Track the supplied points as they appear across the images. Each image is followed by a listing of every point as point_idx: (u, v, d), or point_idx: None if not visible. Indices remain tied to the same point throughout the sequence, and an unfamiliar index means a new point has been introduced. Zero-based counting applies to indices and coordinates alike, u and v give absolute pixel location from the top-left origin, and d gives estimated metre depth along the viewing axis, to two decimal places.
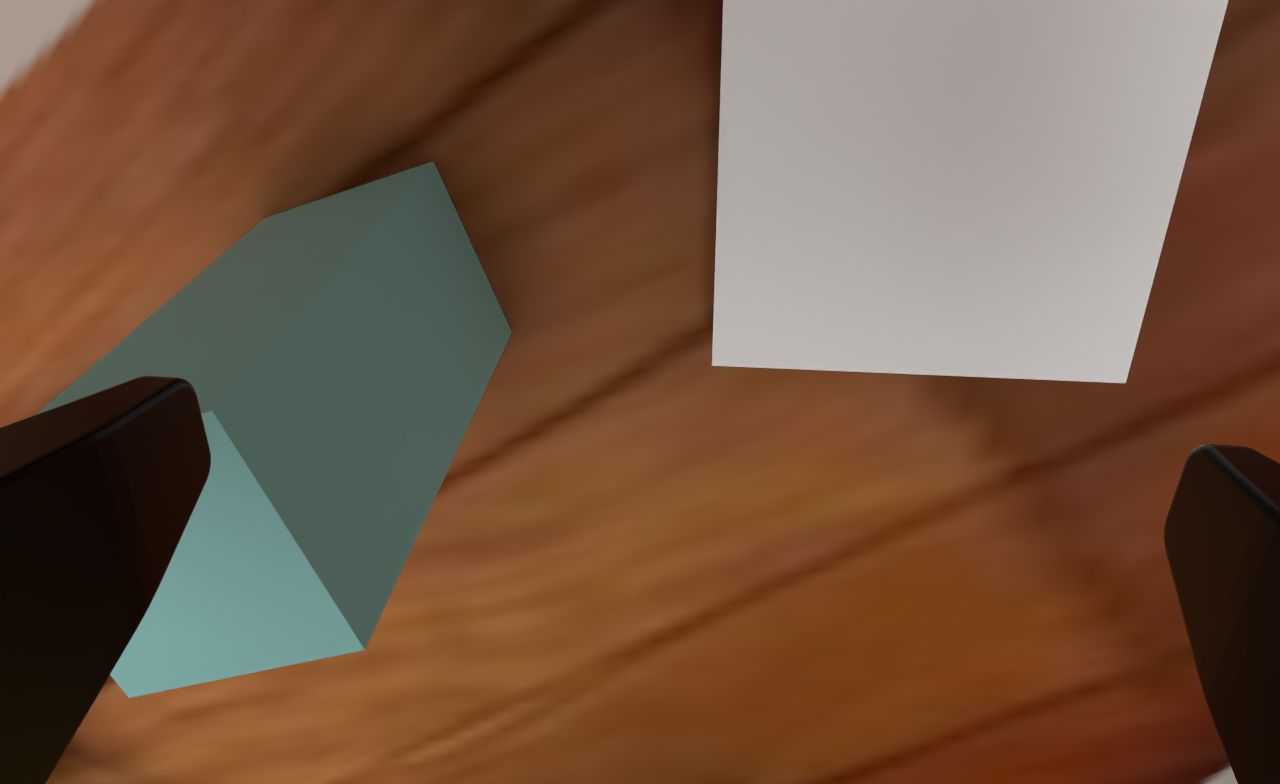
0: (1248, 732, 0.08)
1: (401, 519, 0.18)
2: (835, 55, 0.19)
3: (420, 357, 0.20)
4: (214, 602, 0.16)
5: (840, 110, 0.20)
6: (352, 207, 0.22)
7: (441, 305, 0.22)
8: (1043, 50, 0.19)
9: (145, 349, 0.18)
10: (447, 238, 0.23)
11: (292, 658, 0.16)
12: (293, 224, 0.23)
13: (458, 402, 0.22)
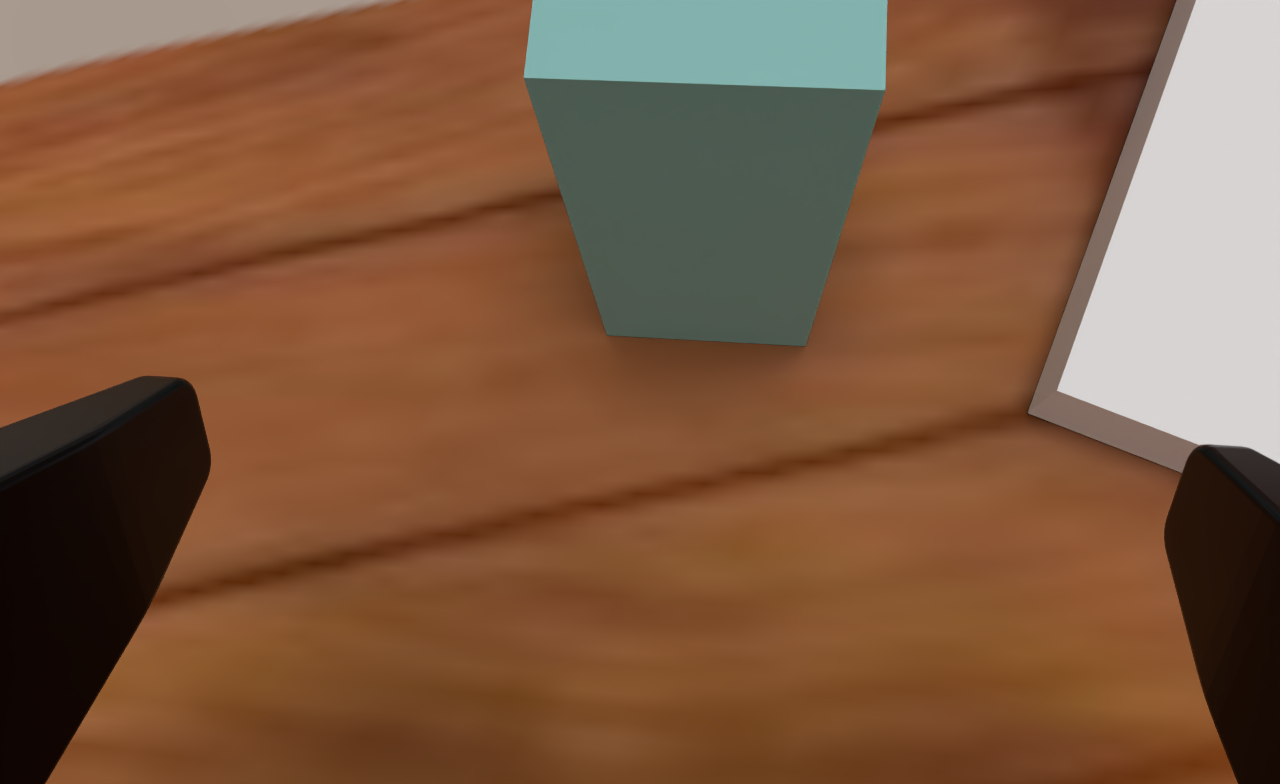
0: (1248, 732, 0.08)
1: None
2: (1258, 141, 0.22)
3: None
4: None
5: (1253, 186, 0.22)
6: None
7: None
8: None
9: None
10: None
11: (783, 78, 0.13)
12: None
13: None
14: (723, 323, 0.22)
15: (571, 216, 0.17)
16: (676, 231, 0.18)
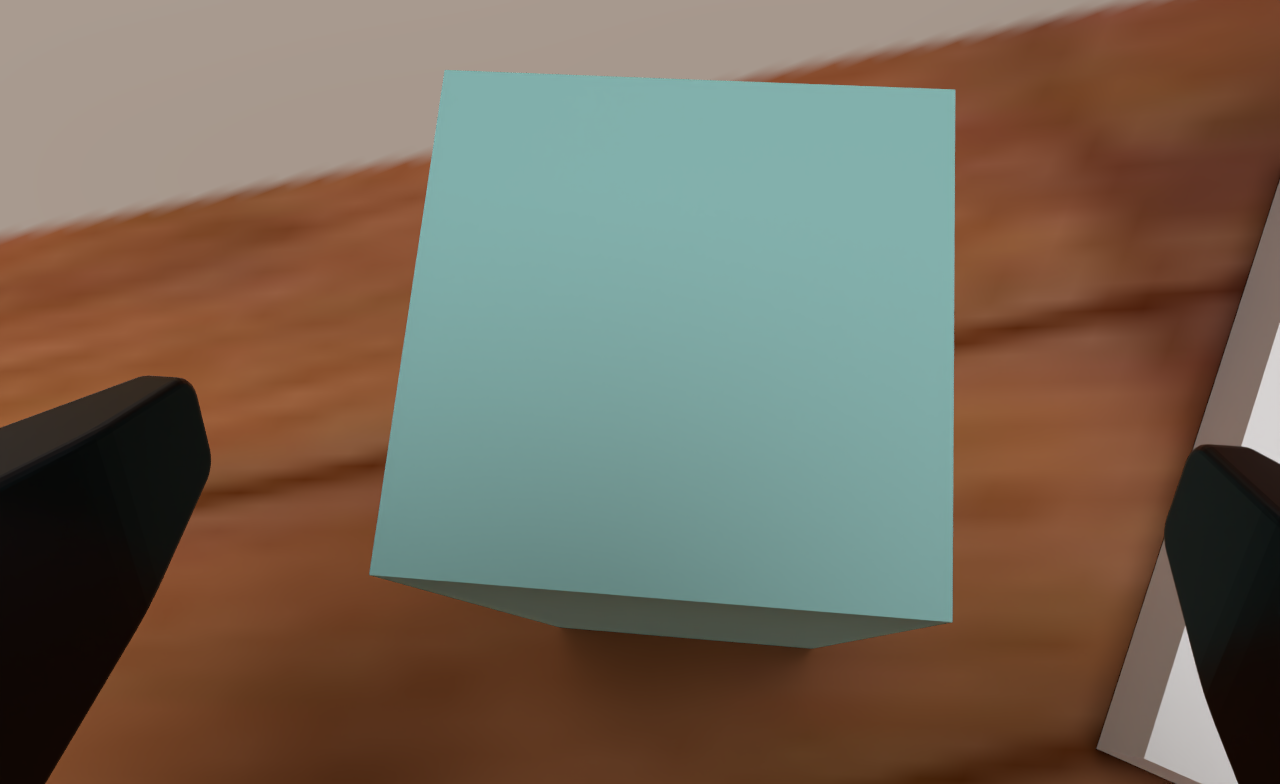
0: (1248, 733, 0.08)
1: None
2: None
3: None
4: (715, 416, 0.08)
5: None
6: None
7: None
8: None
9: None
10: None
11: (786, 593, 0.08)
12: None
13: None
14: (706, 637, 0.17)
15: (487, 606, 0.12)
16: (635, 619, 0.13)
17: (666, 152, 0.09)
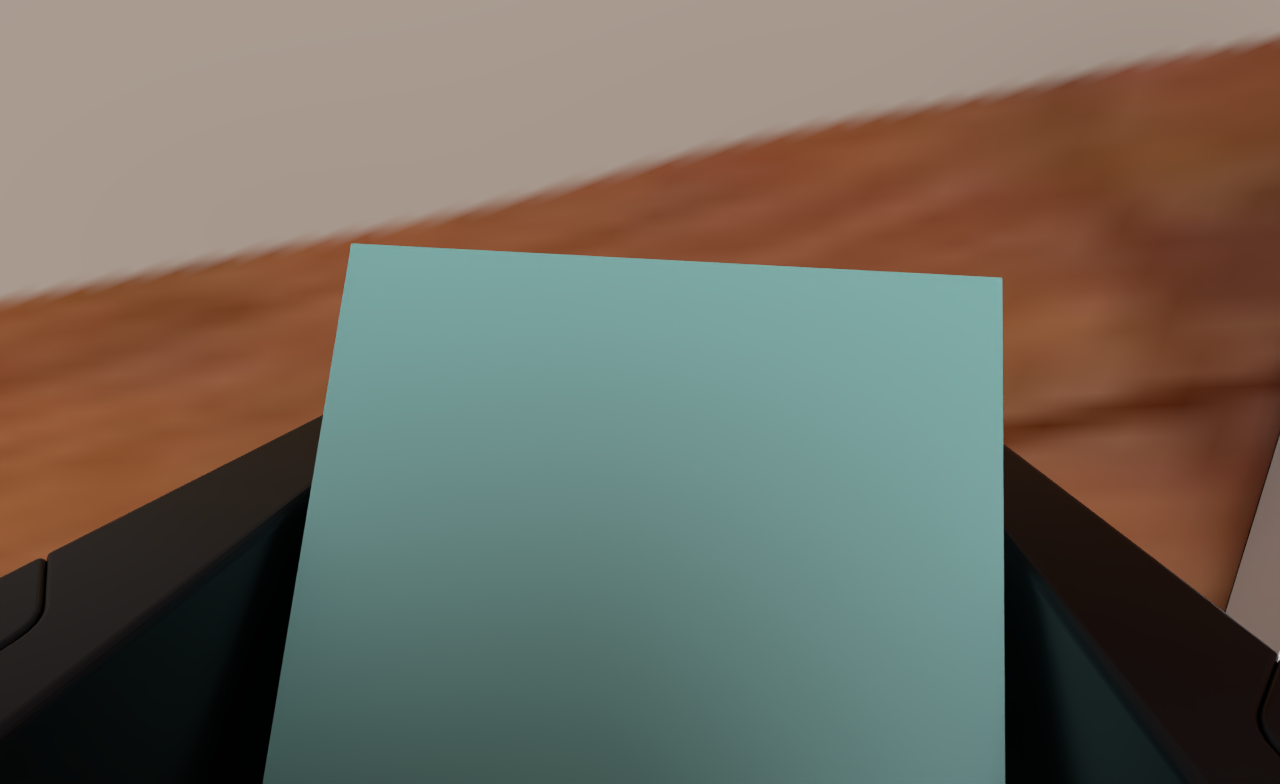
0: None
1: None
2: None
3: None
4: (691, 724, 0.06)
5: None
6: None
7: None
8: None
9: None
10: None
11: None
12: None
13: None
14: None
15: None
16: None
17: (631, 358, 0.07)
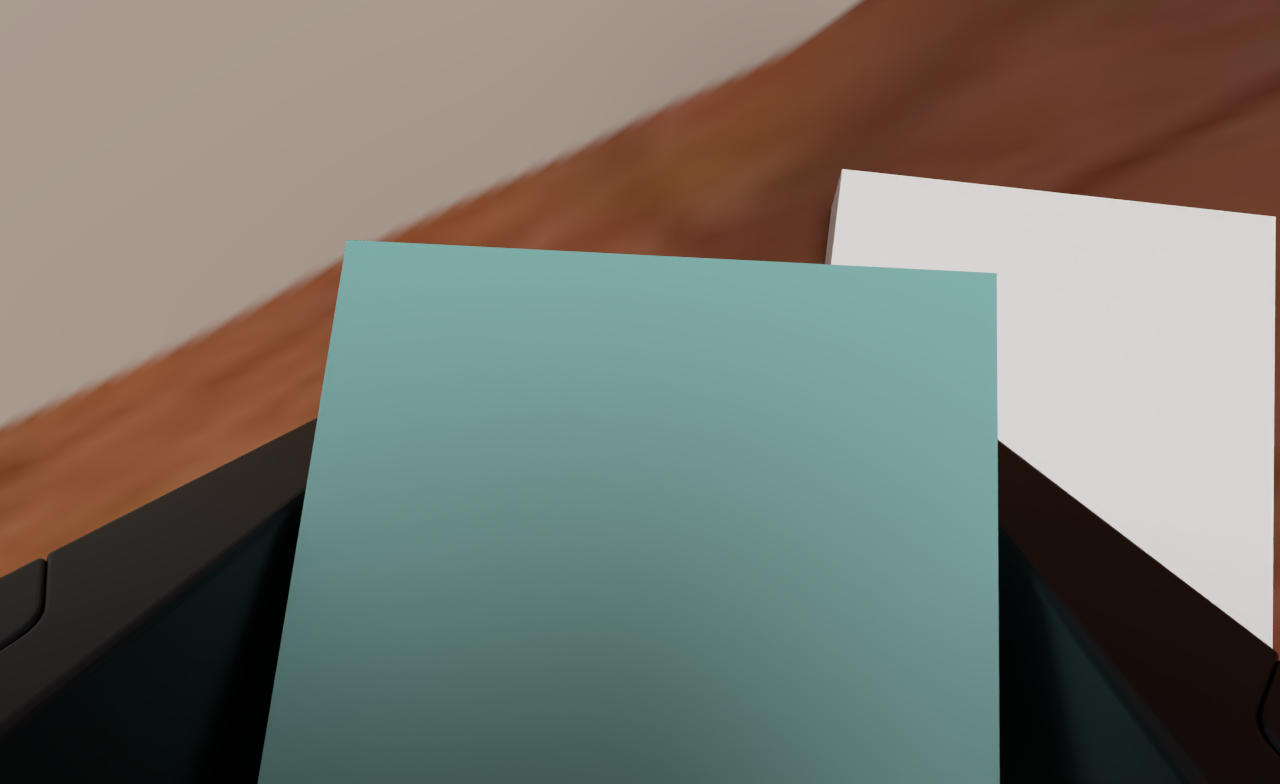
0: None
1: None
2: None
3: None
4: (686, 720, 0.06)
5: None
6: None
7: None
8: (1115, 429, 0.20)
9: None
10: None
11: None
12: None
13: None
14: None
15: None
16: None
17: (626, 354, 0.07)
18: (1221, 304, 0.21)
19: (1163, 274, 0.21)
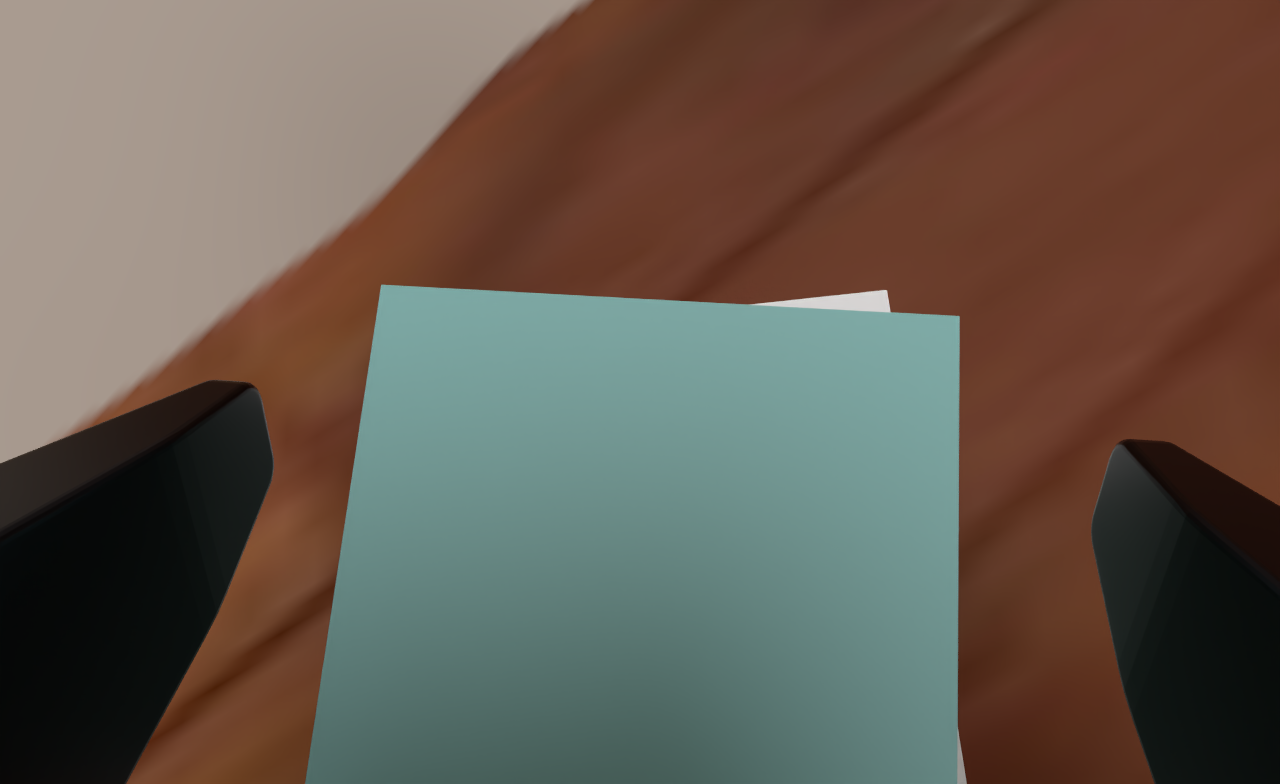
0: (1161, 725, 0.08)
1: None
2: None
3: None
4: (683, 712, 0.07)
5: None
6: None
7: None
8: None
9: None
10: None
11: None
12: None
13: None
14: None
15: None
16: None
17: (631, 388, 0.08)
18: None
19: None
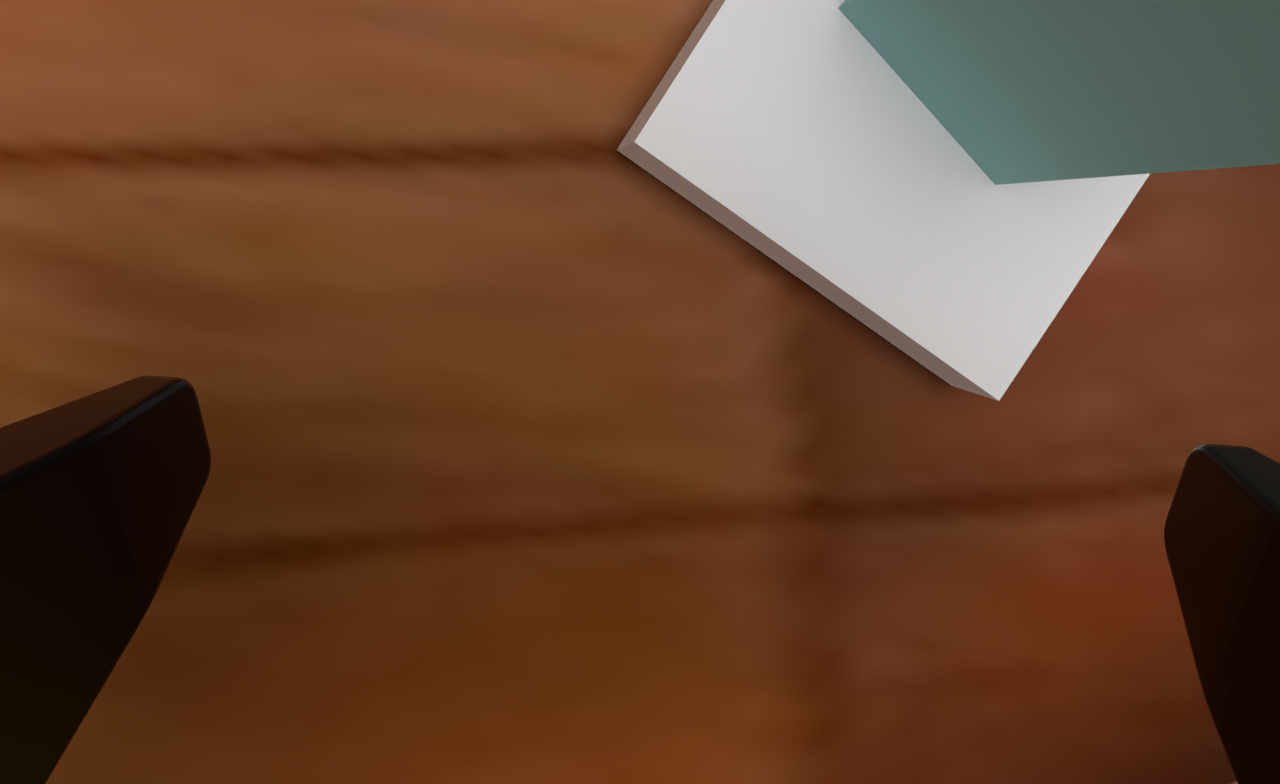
0: (1248, 732, 0.08)
1: None
2: None
3: None
4: None
5: None
6: None
7: None
8: None
9: None
10: None
11: None
12: None
13: None
14: (967, 106, 0.18)
15: None
16: (1112, 13, 0.13)
17: None
18: None
19: None
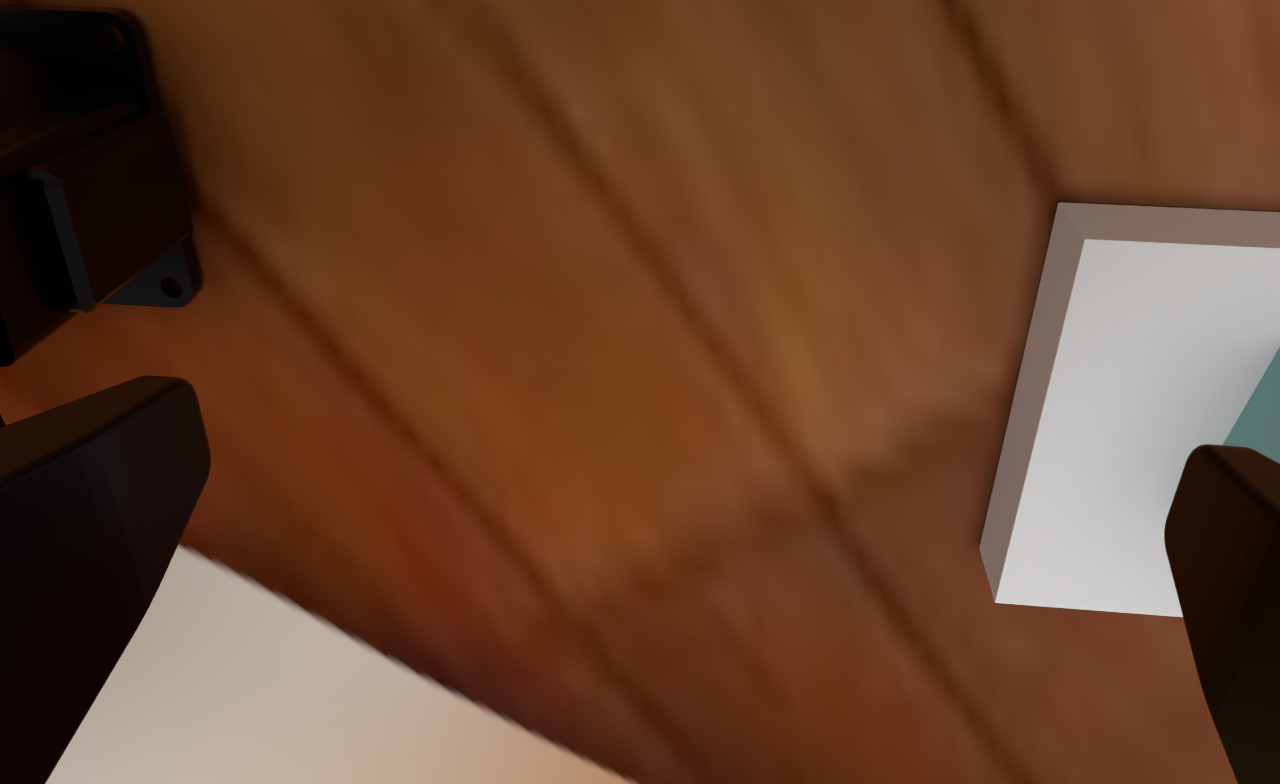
0: (1248, 732, 0.08)
1: None
2: None
3: None
4: None
5: None
6: None
7: None
8: None
9: None
10: None
11: None
12: None
13: None
14: None
15: None
16: None
17: None
18: None
19: None
